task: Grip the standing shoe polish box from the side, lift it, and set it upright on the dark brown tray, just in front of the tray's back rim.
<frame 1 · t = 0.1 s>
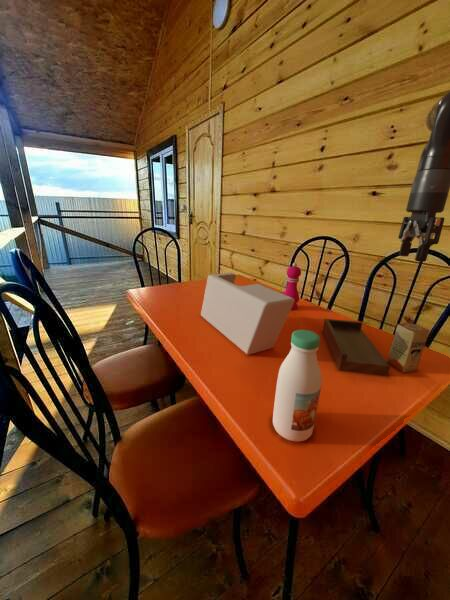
hand: (411, 258, 67), 29 cm above the table, tool pointing down, fingers open, 8 cm apart
pepper mill: (289, 307, 113), on the table
shoe polish box: (401, 366, 71), on the table
milk bottle: (291, 427, 50), on the table
bracket: (237, 334, 86), on the table
dark brown tray: (349, 350, 78), on the table
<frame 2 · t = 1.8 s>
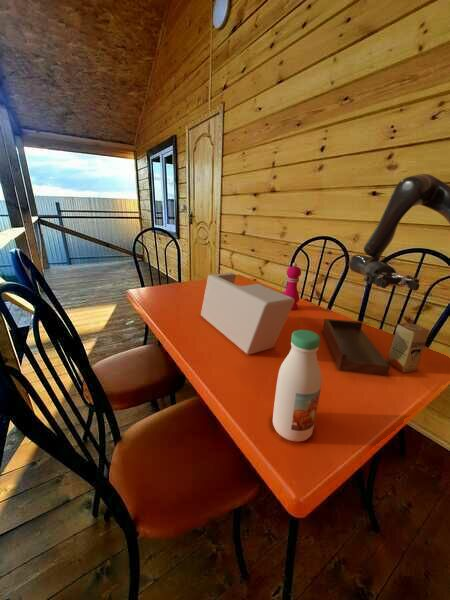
hand: (401, 286, 75), 20 cm above the table, tool horizontal, fingers open, 8 cm apart
nothing on the table moved.
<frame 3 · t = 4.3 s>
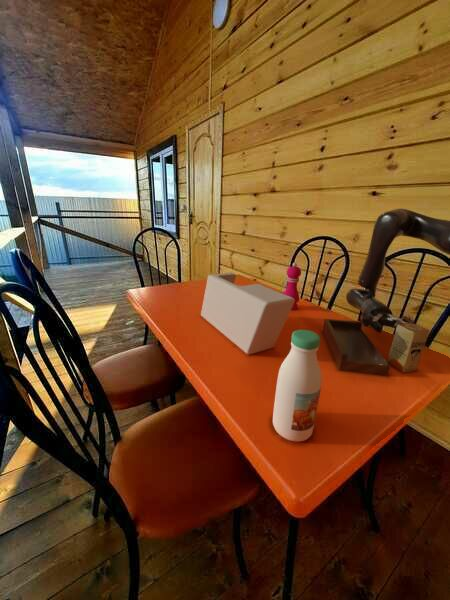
hand: (396, 331, 75), 7 cm above the table, tool horizontal, fingers open, 8 cm apart
nothing on the table moved.
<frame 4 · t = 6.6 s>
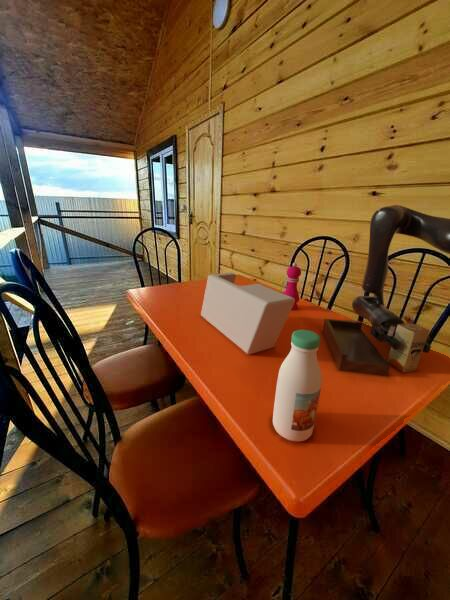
hand: (412, 348, 67), 7 cm above the table, tool horizontal, fingers closed on shoe polish box, 6 cm apart
shoe polish box: (401, 366, 71), on the table, touching gripper
everything else where it was.
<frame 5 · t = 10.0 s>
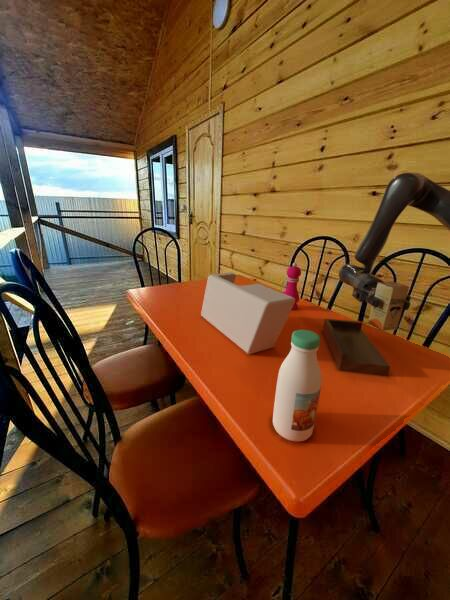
hand: (392, 305, 66), 18 cm above the table, tool horizontal, fingers closed on shoe polish box, 6 cm apart
shoe polish box: (381, 326, 70), point 11 cm above the table, touching gripper
everything else where it was.
when the fingers open (10 cm above the table, at t = 13.5 s): shoe polish box stays where it is, resting on dark brown tray.
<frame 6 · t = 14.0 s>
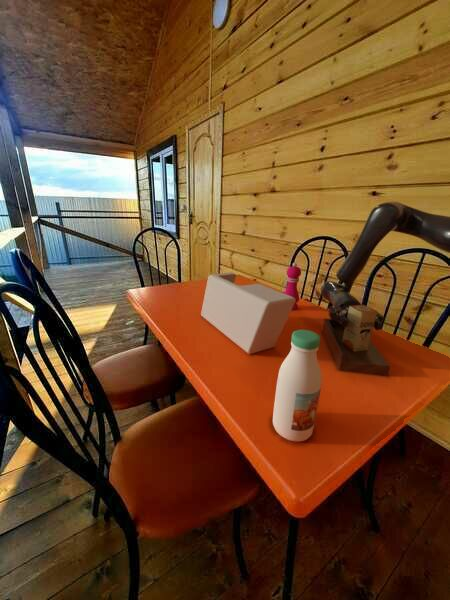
hand: (362, 325, 70), 11 cm above the table, tool horizontal, fingers open, 8 cm apart
shoe polish box: (354, 346, 75), point 3 cm above the table, touching dark brown tray
everything else where it was.
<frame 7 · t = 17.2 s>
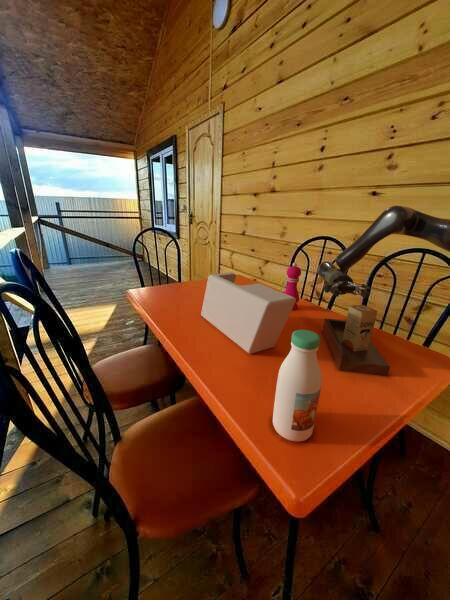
hand: (352, 294, 80), 16 cm above the table, tool horizontal, fingers open, 8 cm apart
nothing on the table moved.
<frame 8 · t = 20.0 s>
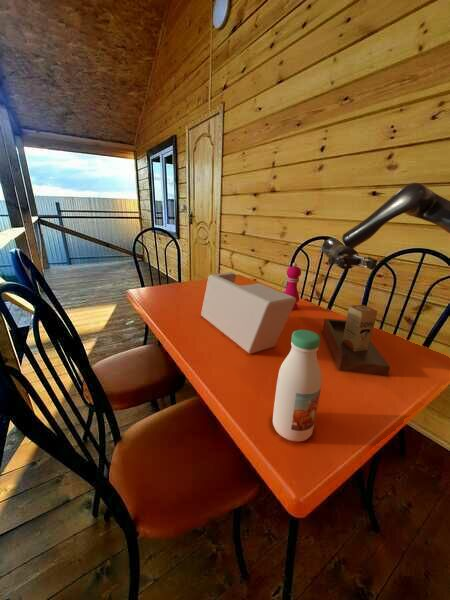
hand: (358, 265, 78), 25 cm above the table, tool horizontal, fingers open, 8 cm apart
nothing on the table moved.
at the end: shoe polish box inside the target area (0.3 cm from its centre), point 2.8 cm above the table; shoe polish box tilted 0°; the gripper is holding nothing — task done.
